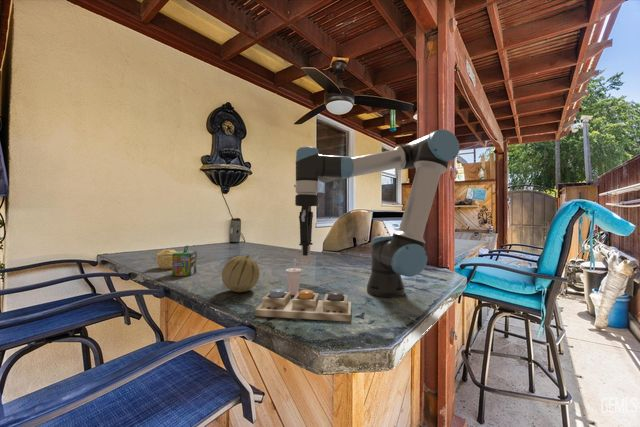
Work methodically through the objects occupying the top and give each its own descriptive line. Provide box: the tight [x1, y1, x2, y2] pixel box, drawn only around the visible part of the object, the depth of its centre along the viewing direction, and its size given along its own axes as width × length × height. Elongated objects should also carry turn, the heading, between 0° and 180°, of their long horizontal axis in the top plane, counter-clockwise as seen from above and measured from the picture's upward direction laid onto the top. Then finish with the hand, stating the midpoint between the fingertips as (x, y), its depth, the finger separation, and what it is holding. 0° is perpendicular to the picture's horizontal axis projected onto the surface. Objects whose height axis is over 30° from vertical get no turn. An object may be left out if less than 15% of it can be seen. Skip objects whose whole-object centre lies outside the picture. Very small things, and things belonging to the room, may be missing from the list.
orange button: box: [298, 289, 314, 300], centre depth 90 cm, size 5×5×2 cm
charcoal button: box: [327, 290, 344, 301], centre depth 89 cm, size 5×5×2 cm
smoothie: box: [285, 258, 302, 296], centre depth 108 cm, size 6×6×14 cm
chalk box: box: [171, 245, 198, 277], centre depth 139 cm, size 9×9×15 cm
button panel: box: [254, 291, 352, 322], centre depth 89 cm, size 30×12×4 cm, turn 83°
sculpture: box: [155, 249, 178, 270], centre depth 154 cm, size 12×12×11 cm
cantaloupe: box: [221, 254, 260, 293], centre depth 111 cm, size 15×15×15 cm
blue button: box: [269, 288, 285, 298], centre depth 92 cm, size 5×5×2 cm
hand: (305, 264), depth 90 cm, fingers closed
